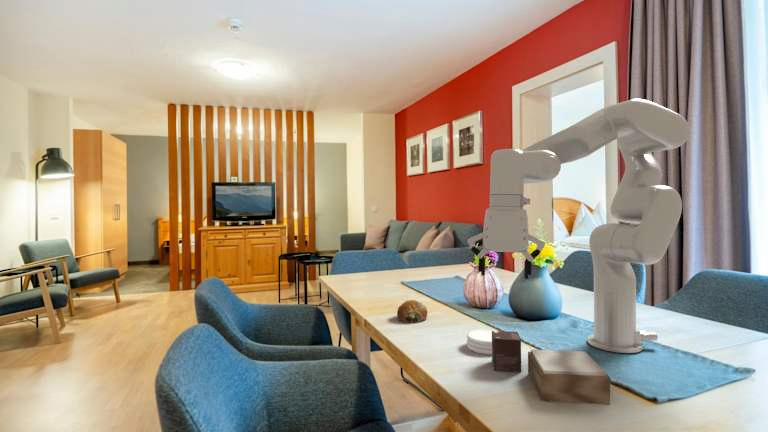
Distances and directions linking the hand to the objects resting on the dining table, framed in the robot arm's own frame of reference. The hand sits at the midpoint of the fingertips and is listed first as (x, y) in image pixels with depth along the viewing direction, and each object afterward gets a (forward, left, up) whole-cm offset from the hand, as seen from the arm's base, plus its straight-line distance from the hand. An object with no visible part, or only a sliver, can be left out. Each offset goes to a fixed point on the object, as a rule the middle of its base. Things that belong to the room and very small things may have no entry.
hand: (504, 276), depth 94 cm
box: (0, +2, -21) cm, 21 cm away
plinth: (-10, +12, -20) cm, 26 cm away
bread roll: (+24, -34, -21) cm, 47 cm away
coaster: (+3, -10, -21) cm, 23 cm away
